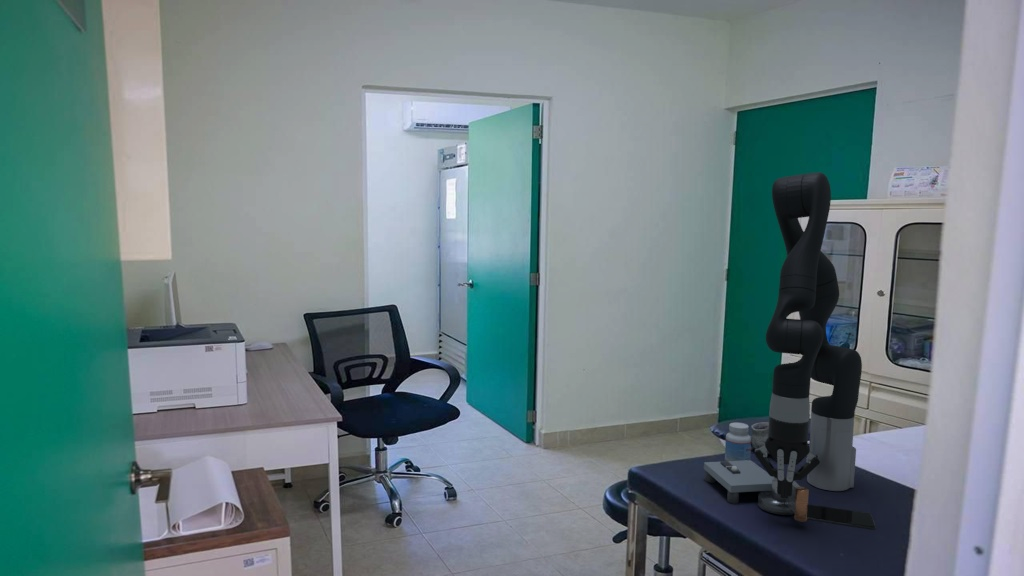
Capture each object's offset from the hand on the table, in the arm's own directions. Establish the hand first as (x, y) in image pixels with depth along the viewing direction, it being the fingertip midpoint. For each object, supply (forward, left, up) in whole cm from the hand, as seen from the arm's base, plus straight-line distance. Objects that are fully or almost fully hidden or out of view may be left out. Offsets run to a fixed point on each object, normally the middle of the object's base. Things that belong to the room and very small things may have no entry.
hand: (783, 496), depth 140 cm
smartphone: (-13, -1, -6) cm, 14 cm away
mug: (-19, -37, -6) cm, 42 cm away
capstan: (-2, -3, -5) cm, 7 cm away
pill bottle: (-5, -29, -6) cm, 30 cm away
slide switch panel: (+1, -17, -6) cm, 18 cm away
